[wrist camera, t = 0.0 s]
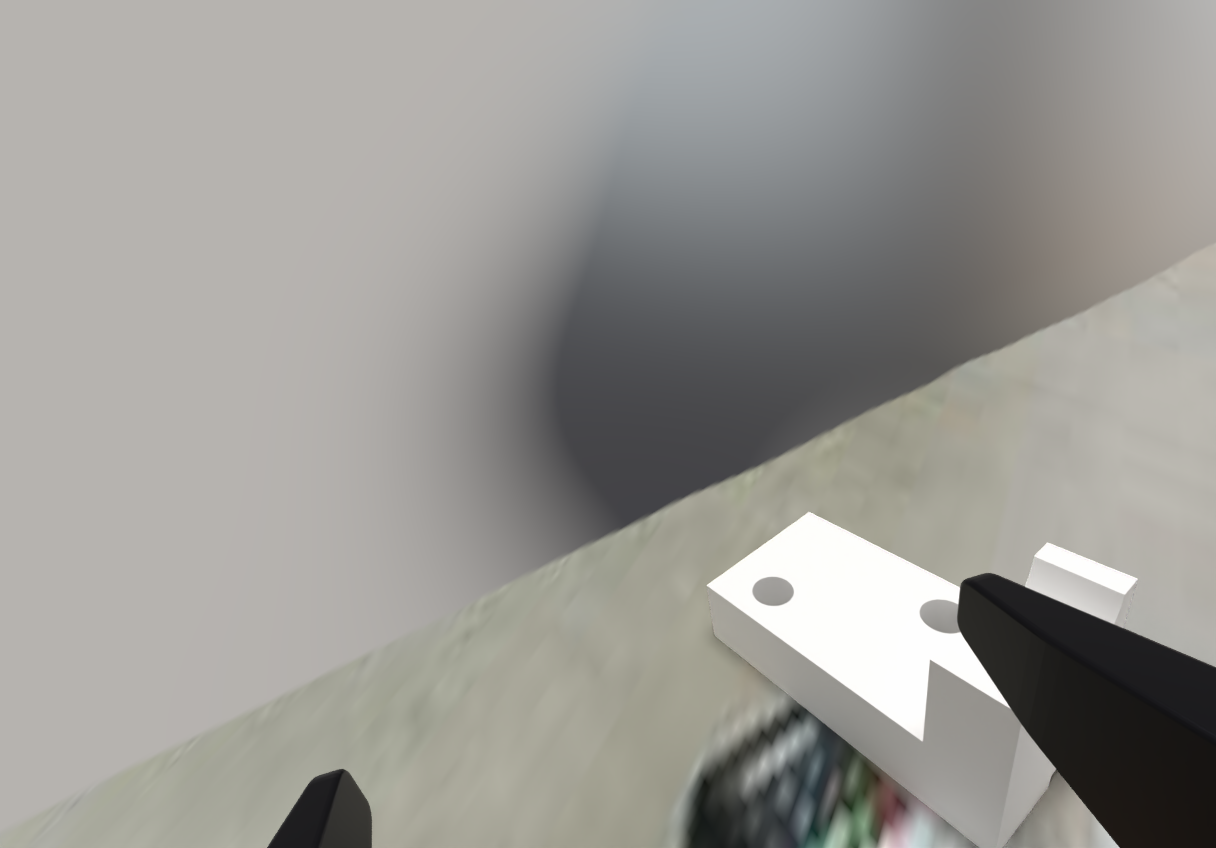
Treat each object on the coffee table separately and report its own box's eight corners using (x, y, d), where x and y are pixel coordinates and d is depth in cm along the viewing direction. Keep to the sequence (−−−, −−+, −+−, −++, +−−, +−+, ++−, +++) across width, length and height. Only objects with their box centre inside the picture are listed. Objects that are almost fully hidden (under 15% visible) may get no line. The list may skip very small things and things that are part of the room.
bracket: (1094, 728, 24) (1137, 578, 20) (992, 864, 20) (1023, 716, 17) (811, 564, 33) (806, 445, 30) (714, 639, 30) (696, 516, 27)
